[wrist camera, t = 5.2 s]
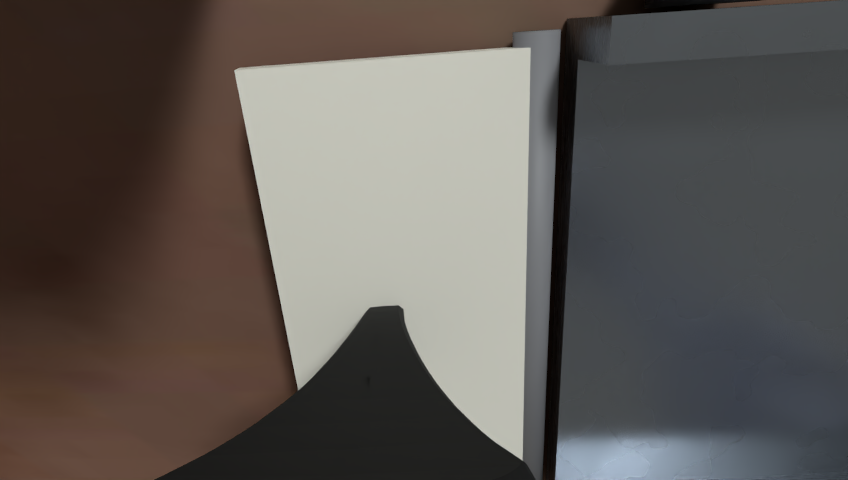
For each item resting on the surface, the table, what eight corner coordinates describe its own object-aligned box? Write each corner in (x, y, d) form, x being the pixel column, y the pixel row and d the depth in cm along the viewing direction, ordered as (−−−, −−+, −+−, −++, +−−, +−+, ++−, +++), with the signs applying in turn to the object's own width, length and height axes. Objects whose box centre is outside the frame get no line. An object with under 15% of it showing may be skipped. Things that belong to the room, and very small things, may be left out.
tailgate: (547, 502, 16) (330, 554, 14) (532, 472, 17) (328, 519, 15) (569, 28, 10) (230, 53, 9) (545, 29, 11) (238, 51, 10)
